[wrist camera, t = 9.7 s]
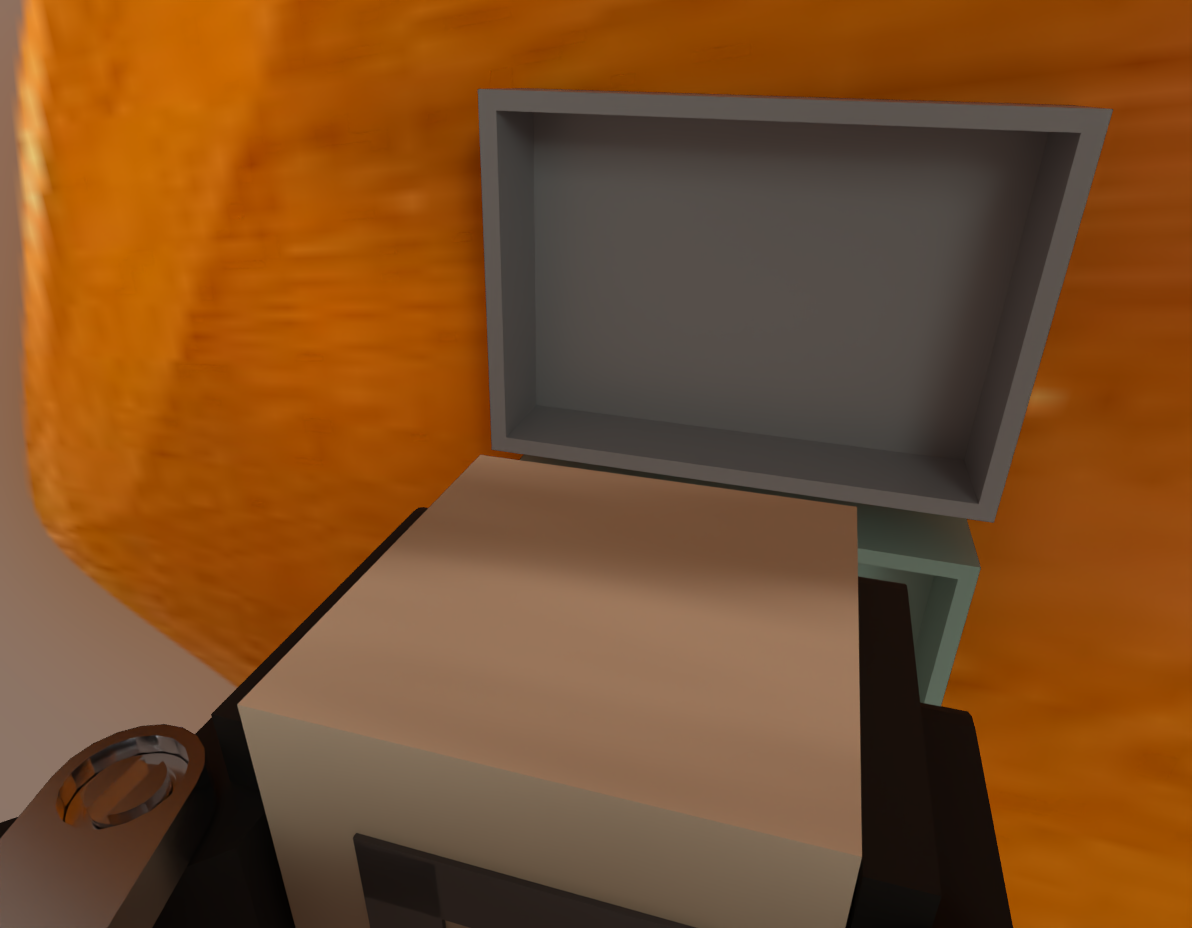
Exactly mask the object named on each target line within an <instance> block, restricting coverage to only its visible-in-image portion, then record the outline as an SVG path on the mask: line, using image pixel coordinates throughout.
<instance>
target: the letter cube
mask: <svg viewBox="0 0 1192 928" xmlns="http://www.w3.org/2000/svg"><path fill="white" fill-rule="evenodd" d="M237 706H238V710H239V713H240V717H241V721H242V725H243V729H244V733H245V736H246V740H247V744H248V748H249V752H250V756H251V759H252V763H253V767H254V771H255V775H256V778H257V782H258V786H259V790H260V794H261V798H262V801H263V805H264V809H265V813H266V817H267V820H268V824H269V828H270V832H271V836H272V840H273V843H274V847H275V851H276V855H277V859H278V862H279V866H280V870H281V874H282V878H283V882H284V885H285V889H286V893H287V897H288V901H289V905H290V908H291V912H292V916H293V920H294V924H295V927H296V928H845V927H846V922H847V918H848V914H849V910H850V906H851V901H852V897H853V893H854V889H855V884H856V880H857V876H858V872H859V867H860V863H861V859H862V824H861V755H860V686H859V617H858V548H857V507H854V506H847V505H840V504H833V503H825V502H818V501H811V500H804V499H796V498H789V497H782V496H775V495H767V494H760V493H753V492H746V491H738V490H731V489H724V488H717V487H710V486H702V485H695V484H688V483H681V482H673V481H666V480H659V479H652V478H644V477H637V476H630V475H623V474H615V473H608V472H601V471H594V470H587V469H579V468H572V467H565V466H558V465H550V464H543V463H536V462H529V461H521V460H514V459H507V458H500V457H492V456H485V455H480V456H479V457H478V458H477V459H476V460H475V461H474V462H473V463H472V464H471V465H470V466H469V467H468V468H467V469H466V470H465V471H464V472H463V473H462V474H461V475H460V476H459V477H458V478H457V479H456V480H455V481H454V482H453V483H452V485H451V486H450V487H449V488H448V489H447V490H446V491H445V492H444V493H443V494H442V495H441V496H440V497H439V498H438V499H437V500H436V501H435V502H434V503H433V504H432V505H431V506H430V507H429V508H428V509H427V510H426V511H425V512H424V513H423V514H422V515H421V516H420V517H419V518H418V519H417V520H416V521H415V523H414V524H413V525H412V526H411V527H410V528H409V529H408V530H407V531H406V532H405V533H404V534H403V535H402V536H401V537H400V538H399V539H398V540H397V541H396V542H395V543H394V544H393V545H392V546H391V547H390V548H389V549H388V550H387V551H386V552H385V553H384V554H383V555H382V556H381V557H380V558H379V559H378V561H377V562H376V563H375V564H374V565H373V566H372V567H371V568H370V569H369V570H368V571H367V572H366V573H365V574H364V575H363V576H362V577H361V578H360V579H359V580H358V581H357V582H356V583H355V584H354V585H353V586H352V587H351V588H350V589H349V590H348V591H347V592H346V593H345V594H344V595H343V596H342V597H341V599H340V600H339V601H338V602H337V603H336V604H335V605H334V606H333V607H332V608H331V609H330V610H329V611H328V612H327V613H326V614H325V615H324V616H323V617H322V618H321V619H320V620H319V621H318V622H317V623H316V624H315V625H314V626H313V627H312V628H311V629H310V630H309V631H308V632H307V633H306V634H305V635H304V637H303V638H302V639H301V640H300V641H299V642H298V643H297V644H296V645H295V646H294V647H293V648H292V649H291V650H290V651H289V652H288V653H287V654H286V655H285V656H284V657H283V658H282V659H281V660H280V661H279V662H278V663H277V664H276V665H275V666H274V667H273V668H272V669H271V670H270V671H269V672H268V673H267V675H266V676H265V677H264V678H263V679H262V680H261V681H260V682H259V683H258V684H257V685H256V686H255V687H254V688H253V689H252V690H251V691H250V692H249V693H248V694H247V695H246V696H245V697H244V698H243V699H242V700H241V701H240V702H239V703H238V704H237Z"/></svg>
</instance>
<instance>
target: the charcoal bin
mask: <svg viewBox="0 0 1192 928" xmlns="http://www.w3.org/2000/svg"><path fill="white" fill-rule="evenodd" d="M478 106H479V132H480V158H481V183H482V209H483V235H484V261H485V287H486V312H487V338H488V364H489V390H490V416H491V441H492V450H498V451H505V452H512V453H518V454H525V455H532V456H539V457H546V458H553V459H560V460H567V461H573V462H580V463H587V464H594V465H601V466H608V467H615V468H622V469H628V470H635V471H642V472H649V473H656V474H663V475H670V476H677V477H683V478H690V479H697V480H704V481H711V482H718V483H725V484H732V485H738V486H745V487H752V488H759V489H766V490H773V491H780V492H787V493H793V494H800V495H807V496H814V497H821V498H828V499H835V500H842V501H848V502H855V503H862V504H869V505H876V506H883V507H890V508H897V509H903V510H910V511H917V512H924V513H931V514H938V515H945V516H952V517H958V518H965V519H972V520H979V521H986V522H993V523H994V520H995V517H996V513H997V510H998V506H999V503H1000V500H1001V496H1002V493H1003V489H1004V486H1005V482H1006V479H1007V475H1008V472H1009V468H1010V465H1011V461H1012V458H1013V454H1014V451H1015V448H1016V444H1017V441H1018V437H1019V434H1020V430H1021V427H1022V423H1023V420H1024V416H1025V413H1026V409H1027V406H1028V403H1029V399H1030V396H1031V392H1032V389H1033V385H1034V382H1035V378H1036V375H1037V371H1038V368H1039V364H1040V361H1041V357H1042V354H1043V351H1044V347H1045V344H1046V340H1047V337H1048V333H1049V330H1050V326H1051V323H1052V319H1053V316H1054V312H1055V309H1056V305H1057V302H1058V299H1059V295H1060V292H1061V288H1062V285H1063V281H1064V278H1065V274H1066V271H1067V267H1068V264H1069V260H1070V257H1071V254H1072V250H1073V247H1074V243H1075V240H1076V236H1077V233H1078V229H1079V226H1080V222H1081V219H1082V215H1083V212H1084V208H1085V205H1086V202H1087V198H1088V195H1089V191H1090V188H1091V184H1092V181H1093V177H1094V174H1095V170H1096V167H1097V163H1098V160H1099V156H1100V153H1101V150H1102V146H1103V143H1104V139H1105V136H1106V132H1107V129H1108V125H1109V122H1110V118H1111V115H1112V111H1113V109H1106V108H1096V107H1085V106H1075V105H1048V104H1016V103H983V102H951V101H919V100H886V99H854V98H822V97H789V96H757V95H725V94H692V93H660V92H628V91H595V90H563V89H531V88H512V89H478Z"/></svg>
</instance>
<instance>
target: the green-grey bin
mask: <svg viewBox="0 0 1192 928" xmlns="http://www.w3.org/2000/svg"><path fill="white" fill-rule="evenodd" d="M520 460H521V461H529V462H536V463H543V464H550V465H558V466H565V467H572V468H579V469H587V470H594V471H601V472H608V473H615V474H623V475H630V476H637V477H644V478H652V479H659V480H666V481H673V482H681V483H688V484H695V485H702V486H710V487H717V488H724V489H731V490H738V491H746V492H753V493H760V494H767V495H775V496H782V497H789V498H796V499H804V500H811V501H818V502H825V503H833V504H840V505H847V506H854V507H857V548H858V576H859V577H865V578H872V579H878V580H884V581H891V582H897V583H903V584H906V585H907V589H908V597H909V606H910V615H911V624H912V633H913V642H914V651H915V660H916V669H917V678H918V687H919V696H920V702H921V703H926V704H931V705H936V706H941V704H942V700H943V697H944V694H945V690H946V687H947V683H948V680H949V676H950V673H951V669H952V666H953V662H954V659H955V655H956V652H957V649H958V645H959V642H960V638H961V635H962V631H963V628H964V624H965V621H966V617H967V614H968V610H969V607H970V603H971V600H972V597H973V593H974V590H975V586H976V583H977V579H978V576H979V572H980V569H981V567H980V563H979V560H978V556H977V553H976V550H975V546H974V543H973V539H972V536H971V532H970V529H969V526H968V522H967V519H965V518H958V517H952V516H945V515H938V514H931V513H924V512H917V511H910V510H903V509H897V508H890V507H883V506H876V505H869V504H862V503H855V502H848V501H842V500H835V499H828V498H821V497H814V496H807V495H800V494H793V493H787V492H780V491H773V490H766V489H759V488H752V487H745V486H738V485H732V484H725V483H718V482H711V481H704V480H697V479H690V478H683V477H677V476H670V475H663V474H656V473H649V472H642V471H635V470H628V469H622V468H615V467H608V466H601V465H594V464H587V463H580V462H573V461H567V460H560V459H553V458H546V457H539V456H532V455H525V454H524V455H523V456H522V457H521V459H520Z"/></svg>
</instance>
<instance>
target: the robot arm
mask: <svg viewBox="0 0 1192 928" xmlns="http://www.w3.org/2000/svg"><path fill="white" fill-rule="evenodd" d="M427 509H428V508H425V507H421V508H418V509H416V510H415V511H414V512H413V513H412V514H411V515H410V516H409V517H408V518H407V519H406V520H405V521H404V522H403V523H402V524H401V525H400V526H399V527H398V528H397V529H396V530H395V531H394V532H393V533H392V534H391V535H390V536H389V537H388V538H387V539H386V540H385V541H384V542H383V543H382V544H381V545H380V546H379V547H378V548H377V549H376V550H375V551H374V552H373V553H372V554H371V555H370V556H369V557H368V558H367V559H366V560H365V561H364V562H363V563H362V564H361V565H360V566H359V567H358V568H357V569H356V570H355V571H354V572H353V573H352V574H351V575H350V576H349V577H348V578H347V579H346V580H345V581H344V582H343V583H342V584H341V585H340V586H339V587H338V588H337V589H336V590H335V591H334V592H333V593H332V594H331V595H330V596H329V597H328V598H327V599H326V600H325V601H324V602H323V603H322V604H321V605H320V606H319V607H318V608H317V609H316V610H315V611H314V612H313V613H312V614H311V615H310V616H309V617H308V618H307V619H306V620H305V621H304V622H303V623H302V624H301V625H300V626H299V627H298V628H297V629H296V630H295V631H294V632H293V633H292V634H291V635H290V636H289V637H288V638H287V639H286V640H285V641H284V642H283V643H282V644H281V645H280V646H279V647H278V648H277V649H276V650H275V651H274V652H273V653H272V654H271V655H270V656H269V657H268V658H267V659H266V660H265V661H264V662H263V663H262V664H261V665H260V666H259V667H258V668H257V669H256V670H255V671H254V672H253V673H252V674H251V675H250V676H249V677H248V678H247V679H246V680H245V681H244V682H243V683H242V684H241V685H240V686H239V687H238V688H237V689H236V690H235V691H234V692H233V693H232V694H231V695H230V696H229V697H228V698H227V699H226V700H225V701H224V702H223V703H222V704H221V705H220V706H219V707H218V708H217V709H216V710H215V711H214V712H213V713H212V714H211V715H212V718H211V719H210V720H209V721H208V722H207V723H206V724H205V725H204V726H203V727H202V728H201V729H200V730H199V731H198V732H197V733H196V734H193V733H191V732H190V731H188V730H186V729H185V728H183V727H177V726H171V725H166V724H161V725H147V726H139V727H136V728H132V729H128V730H125V731H121V732H117V733H115V734H113V735H111V736H109V737H106V738H104V739H102V740H100V741H97V742H95V743H93V744H91V745H90V746H89V747H87V748H85V749H84V750H82V751H81V752H79V753H78V754H76V755H75V756H73V757H72V758H70V759H69V760H68V762H66V763H65V764H64V765H63V766H62V767H61V768H60V769H59V770H58V771H57V772H56V773H55V774H54V775H53V776H52V777H51V778H50V779H49V781H48V782H47V783H46V784H45V785H44V787H43V788H42V789H41V790H40V791H39V793H38V794H37V795H36V796H35V798H34V799H33V800H32V801H31V802H30V804H29V805H28V806H27V807H26V809H25V810H24V811H23V812H22V813H21V814H20V816H19V817H16V818H13V819H10V820H7V821H4V822H2V823H0V928H296V927H295V924H294V920H293V916H292V912H291V908H290V905H289V901H288V897H287V893H286V889H285V885H284V882H283V878H282V874H281V870H280V866H279V862H278V859H277V855H276V851H275V847H274V843H273V840H272V836H271V832H270V828H269V824H268V820H267V817H266V813H265V809H264V805H263V801H262V798H261V794H260V790H259V786H258V782H257V778H256V775H255V771H254V767H253V763H252V759H251V756H250V752H249V748H248V744H247V740H246V736H245V733H244V729H243V725H242V721H241V717H240V713H239V710H238V706H237V704H238V703H239V702H240V701H241V700H242V699H243V698H244V697H245V696H246V695H247V694H248V693H249V692H250V691H251V690H252V689H253V688H254V687H255V686H256V685H257V684H258V683H259V682H260V681H261V680H262V679H263V678H264V677H265V676H266V675H267V673H268V672H269V671H270V670H271V669H272V668H273V667H274V666H275V665H276V664H277V663H278V662H279V661H280V660H281V659H282V658H283V657H284V656H285V655H286V654H287V653H288V652H289V651H290V650H291V649H292V648H293V647H294V646H295V645H296V644H297V643H298V642H299V641H300V640H301V639H302V638H303V637H304V635H305V634H306V633H307V632H308V631H309V630H310V629H311V628H312V627H313V626H314V625H315V624H316V623H317V622H318V621H319V620H320V619H321V618H322V617H323V616H324V615H325V614H326V613H327V612H328V611H329V610H330V609H331V608H332V607H333V606H334V605H335V604H336V603H337V602H338V601H339V600H340V599H341V597H342V596H343V595H344V594H345V593H346V592H347V591H348V590H349V589H350V588H351V587H352V586H353V585H354V584H355V583H356V582H357V581H358V580H359V579H360V578H361V577H362V576H363V575H364V574H365V573H366V572H367V571H368V570H369V569H370V568H371V567H372V566H373V565H374V564H375V563H376V562H377V561H378V559H379V558H380V557H381V556H382V555H383V554H384V553H385V552H386V551H387V550H388V549H389V548H390V547H391V546H392V545H393V544H394V543H395V542H396V541H397V540H398V539H399V538H400V537H401V536H402V535H403V534H404V533H405V532H406V531H407V530H408V529H409V528H410V527H411V526H412V525H413V524H414V523H415V521H416V520H417V519H418V518H419V517H420V516H421V515H422V514H423V513H424V512H425V511H426V510H427ZM858 617H859V686H860V755H861V824H862V859H861V863H860V867H859V872H858V876H857V880H856V884H855V889H854V893H853V897H852V901H851V906H850V910H849V914H848V918H847V922H846V927H845V928H1013V925H1012V920H1011V914H1010V909H1009V904H1008V899H1007V893H1006V888H1005V883H1004V878H1003V872H1002V867H1001V862H1000V856H999V851H998V846H997V841H996V835H995V830H994V825H993V820H992V814H991V809H990V804H989V799H988V793H987V788H986V783H985V778H984V772H983V767H982V762H981V757H980V751H979V746H978V741H977V736H976V730H975V726H974V723H973V719H972V716H971V715H970V714H969V713H968V712H967V711H962V710H957V709H952V708H947V707H941V706H936V705H931V704H926V703H921V702H920V696H919V687H918V678H917V669H916V660H915V651H914V642H913V633H912V624H911V615H910V606H909V597H908V589H907V585H906V584H903V583H897V582H891V581H884V580H878V579H872V578H865V577H859V576H858Z"/></svg>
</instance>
